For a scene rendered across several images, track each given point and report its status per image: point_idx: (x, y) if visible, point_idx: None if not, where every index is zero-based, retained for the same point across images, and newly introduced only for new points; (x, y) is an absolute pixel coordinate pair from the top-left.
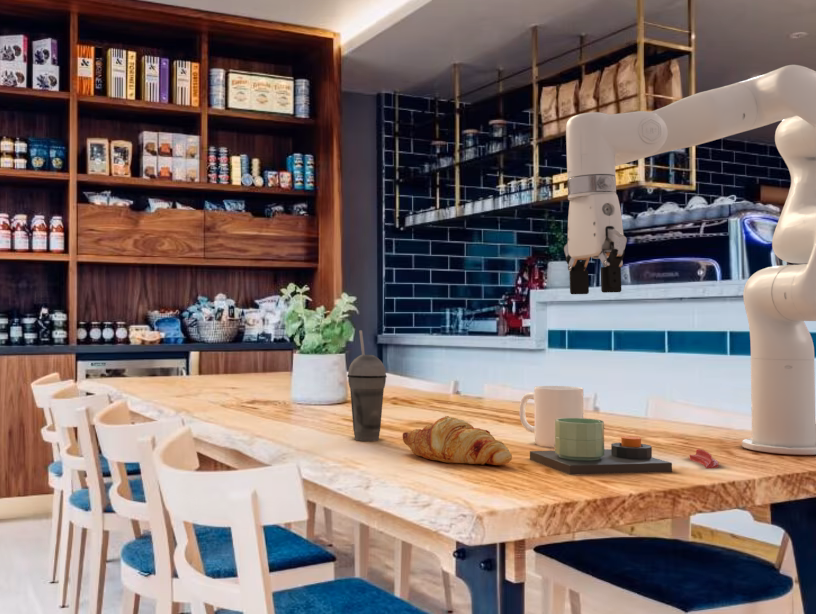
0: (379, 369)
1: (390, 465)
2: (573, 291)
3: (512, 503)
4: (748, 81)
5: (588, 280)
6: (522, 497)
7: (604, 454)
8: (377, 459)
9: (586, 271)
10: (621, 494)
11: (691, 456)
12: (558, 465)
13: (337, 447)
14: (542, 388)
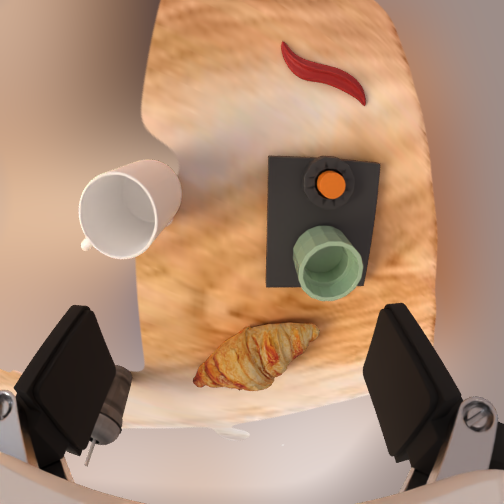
0: (110, 427)
1: (269, 394)
2: (114, 375)
3: None
4: None
5: (55, 349)
6: None
7: (309, 209)
8: (238, 396)
9: (43, 401)
10: (434, 276)
11: (308, 78)
12: None
13: (171, 403)
14: (135, 256)
